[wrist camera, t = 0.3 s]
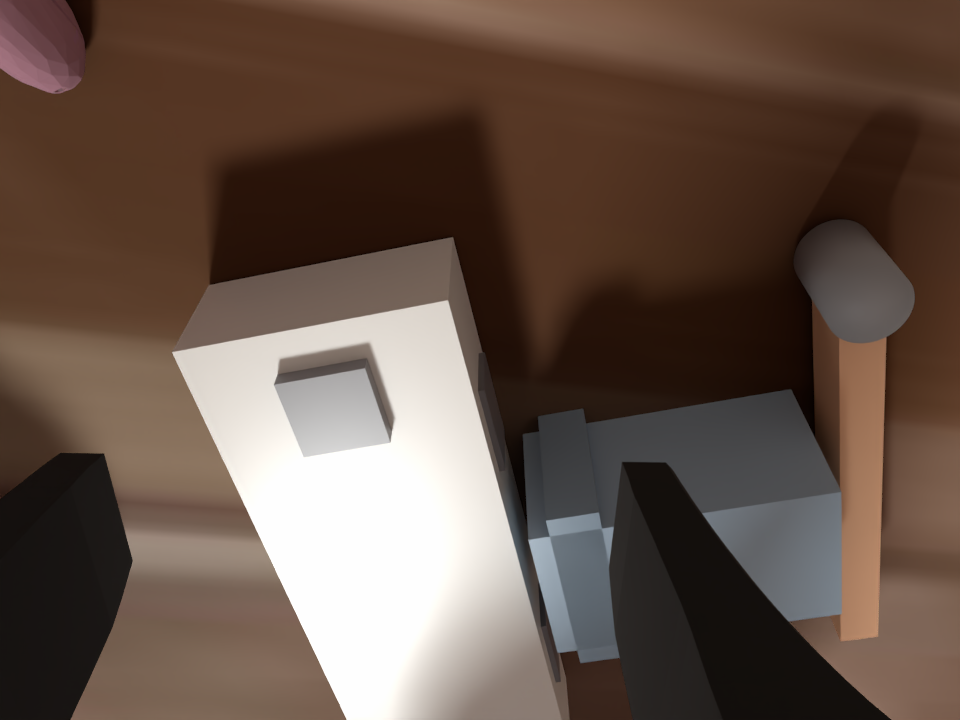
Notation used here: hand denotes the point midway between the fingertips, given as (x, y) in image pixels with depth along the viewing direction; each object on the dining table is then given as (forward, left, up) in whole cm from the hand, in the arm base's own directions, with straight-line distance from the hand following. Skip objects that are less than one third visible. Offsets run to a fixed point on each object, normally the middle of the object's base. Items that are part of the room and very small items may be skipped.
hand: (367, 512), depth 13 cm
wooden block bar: (-8, -9, -9) cm, 15 cm away
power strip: (-8, +2, -10) cm, 13 cm away
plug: (-8, -5, -10) cm, 14 cm away
